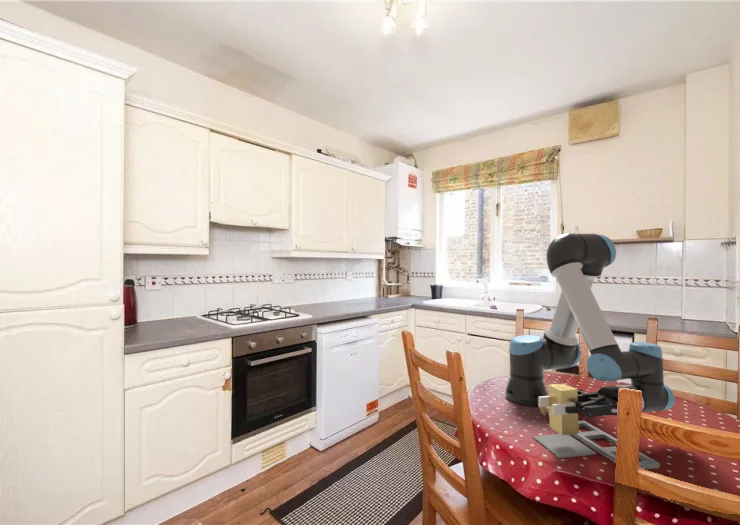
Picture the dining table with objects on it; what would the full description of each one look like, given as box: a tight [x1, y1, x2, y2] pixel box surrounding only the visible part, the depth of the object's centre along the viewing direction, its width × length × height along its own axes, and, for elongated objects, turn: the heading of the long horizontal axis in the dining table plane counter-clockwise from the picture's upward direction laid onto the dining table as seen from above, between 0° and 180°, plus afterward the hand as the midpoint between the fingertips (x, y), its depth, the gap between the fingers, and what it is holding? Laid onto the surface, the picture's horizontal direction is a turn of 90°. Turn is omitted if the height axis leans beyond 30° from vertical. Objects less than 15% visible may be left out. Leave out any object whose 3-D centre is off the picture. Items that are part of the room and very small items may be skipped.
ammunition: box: [537, 403, 549, 417], centre depth 112 cm, size 5×7×8 cm
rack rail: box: [571, 420, 660, 470], centre depth 95 cm, size 24×9×1 cm, turn 9°
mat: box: [532, 433, 597, 459], centre depth 95 cm, size 11×11×1 cm
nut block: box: [548, 383, 580, 436], centre depth 95 cm, size 5×5×12 cm
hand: (546, 405), depth 94 cm, fingers closed on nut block, 5 cm apart
